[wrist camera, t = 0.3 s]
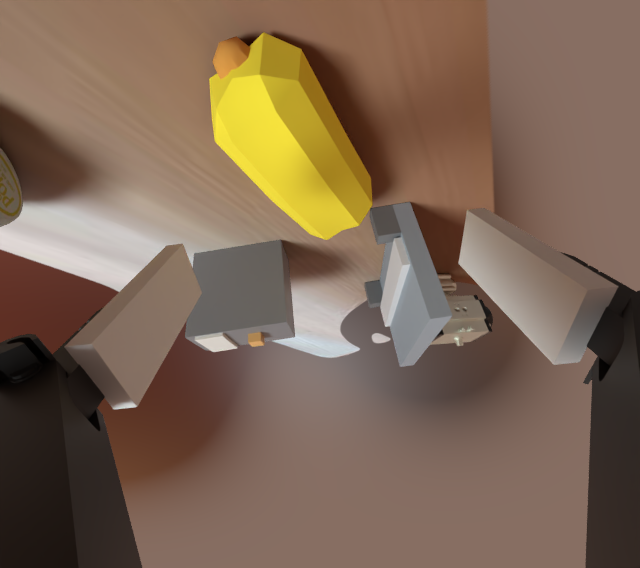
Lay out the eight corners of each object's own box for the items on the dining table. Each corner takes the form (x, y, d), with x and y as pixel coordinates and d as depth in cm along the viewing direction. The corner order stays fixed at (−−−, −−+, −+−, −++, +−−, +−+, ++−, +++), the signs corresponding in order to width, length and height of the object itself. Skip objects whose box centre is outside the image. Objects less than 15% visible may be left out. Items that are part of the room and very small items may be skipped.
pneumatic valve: (457, 284, 53) (483, 347, 47) (398, 285, 51) (418, 352, 45) (476, 267, 48) (507, 335, 43) (412, 268, 46) (436, 340, 40)
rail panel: (370, 208, 33) (402, 323, 26) (409, 202, 33) (452, 315, 26) (364, 286, 49) (383, 369, 43) (390, 282, 49) (413, 364, 42)
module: (194, 253, 36) (183, 346, 30) (280, 239, 36) (287, 330, 30) (211, 273, 40) (205, 358, 35) (288, 261, 40) (295, 345, 34)
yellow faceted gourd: (269, -18, 16) (178, 68, 19) (275, 35, 13) (163, 128, 16) (377, 186, 30) (315, 217, 33) (393, 236, 27) (322, 265, 30)
